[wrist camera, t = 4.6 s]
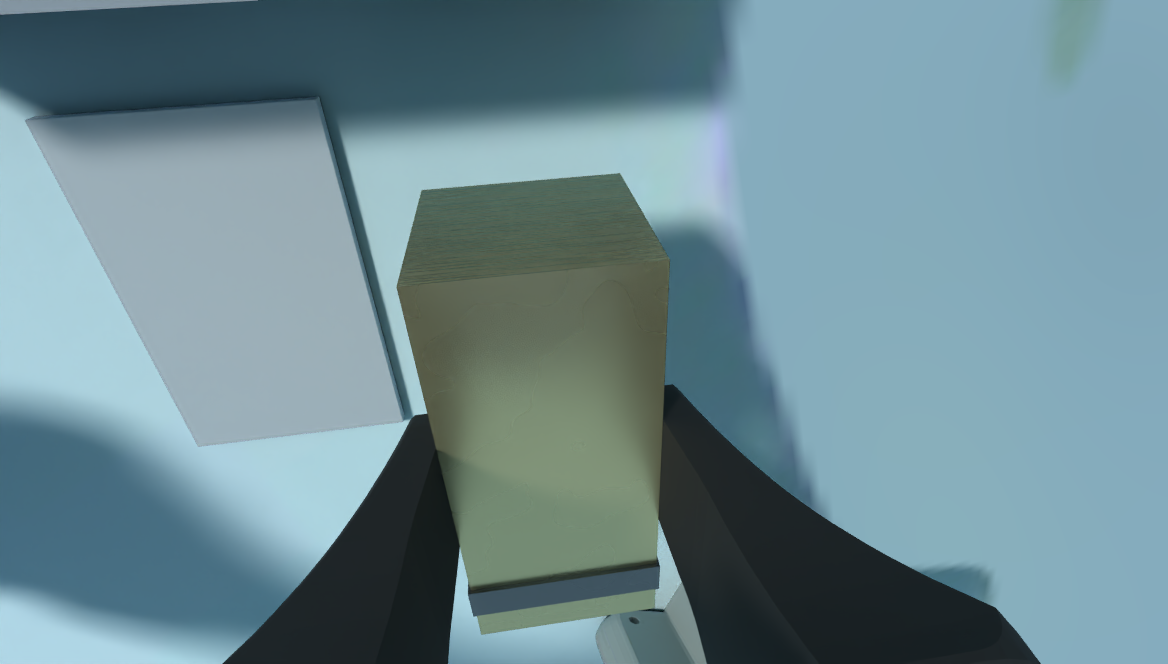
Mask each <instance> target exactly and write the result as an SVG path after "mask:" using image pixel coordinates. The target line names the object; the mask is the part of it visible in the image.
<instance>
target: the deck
mask: <svg viewBox="0 0 1168 664" xmlns="http://www.w3.org/2000/svg"><path fill="white" fill-rule="evenodd" d="M25 122H26V124H27V126H28V127H29V129H30V131H31V133H32V135H33V137H34V139H35V141H36V143H37V144H38V146H39V148H40V150H41V152H42V154H43V156H44V158H45V159H46V161H47V163H48V165H49V167H50V169H51V171H52V173H53V175H54V176H55V178H56V180H57V182H58V184H59V186H60V188H61V190H62V191H63V193H64V195H65V197H66V199H67V201H68V203H69V205H70V207H71V208H72V210H73V212H74V214H75V216H76V218H77V220H78V222H79V223H80V225H81V227H82V229H83V231H84V233H85V235H86V237H87V239H88V240H89V242H90V244H91V246H92V248H93V250H94V252H95V254H96V255H97V257H98V259H99V261H100V263H101V265H102V267H103V269H104V271H105V272H106V274H107V276H108V278H109V280H110V282H111V284H112V286H113V287H114V289H115V291H116V293H117V295H118V297H119V299H120V301H121V302H122V304H123V306H124V308H125V310H126V312H127V314H128V316H129V318H130V319H131V321H132V323H133V325H134V327H135V329H136V331H137V333H138V334H139V336H140V338H141V340H142V342H143V344H144V346H145V348H146V350H147V351H148V353H149V355H150V357H151V359H152V361H153V363H154V365H155V366H156V368H157V370H158V372H159V374H160V376H161V378H162V380H163V382H164V383H165V385H166V387H167V389H168V391H169V393H170V395H171V397H172V398H173V400H174V402H175V404H176V406H177V408H178V410H179V412H180V414H181V415H182V417H183V419H184V421H185V423H186V425H187V427H188V429H189V430H190V432H191V434H192V436H193V438H194V440H195V442H196V444H197V446H198V447H200V446H208V445H216V444H225V443H233V442H241V441H249V440H258V439H266V438H274V437H282V436H291V435H299V434H307V433H315V432H324V431H332V430H340V429H348V428H357V427H365V426H373V425H381V424H390V423H398V422H403V419H404V412H403V408H402V405H401V401H400V397H399V393H398V390H397V386H396V382H395V378H394V375H393V371H392V367H391V363H390V360H389V356H388V352H387V349H386V345H385V341H384V337H383V334H382V330H381V326H380V322H379V319H378V315H377V311H376V307H375V304H374V300H373V296H372V292H371V289H370V285H369V281H368V278H367V274H366V270H365V266H364V263H363V259H362V255H361V251H360V248H359V244H358V240H357V236H356V233H355V229H354V225H353V222H352V218H351V214H350V210H349V207H348V203H347V199H346V195H345V192H344V188H343V184H342V180H341V177H340V173H339V169H338V165H337V162H336V158H335V154H334V151H333V147H332V143H331V139H330V136H329V132H328V128H327V124H326V121H325V117H324V113H323V109H322V106H321V102H320V98H319V97H306V98H292V99H277V100H263V101H249V102H235V103H221V104H207V105H192V106H178V107H164V108H150V109H136V110H122V111H107V112H93V113H79V114H65V115H51V116H36V117H32V118H30V119H27V120H25Z"/></svg>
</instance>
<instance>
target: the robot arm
mask: <svg viewBox="0 0 1168 664" xmlns="http://www.w3.org/2000/svg"><path fill="white" fill-rule="evenodd" d="M658 518H659V521H660V524H661V527H662V529H663V532H664V535H665V538H666V540H667V543H668V546H669V548H670V551H671V554H672V556H673V559H674V562H675V565H676V567H677V570H678V573H679V575H680V578H681V581H682V583H683V586H684V589H685V592H686V594H687V597H688V600H689V603H690V606H691V609H692V612H693V615H694V618H695V621H696V625H697V629H698V632H699V636H700V640H701V644H702V648H703V651H704V655H705V659H706V663H707V664H1041V663H1040V662H1039V661H1038V659H1037V658H1036V657H1035V656H1034V654H1033V653H1032V651H1031V650H1030V649H1029V647H1028V646H1027V645H1026V643H1025V642H1024V641H1023V639H1022V638H1021V637H1020V635H1019V634H1018V633H1017V632H1016V630H1015V629H1014V628H1013V627H1012V626H1011V625H1010V624H1009V622H1007V620H1006V619H1005V618H1004V617H1003V616H1002V614H1001V613H1000V612H999V611H998V610H997V609H996V608H995V607H993V606H990V605H988V604H986V603H984V602H982V601H979V600H977V599H975V598H973V597H971V596H968V595H966V594H964V593H962V592H960V591H957V590H955V589H953V588H951V587H949V586H947V585H944V584H942V583H940V582H938V581H936V580H933V579H931V578H929V577H927V576H925V575H923V574H921V573H919V572H917V571H915V570H914V569H912V568H910V567H908V566H906V565H904V564H902V563H900V562H898V561H896V560H894V559H892V558H891V557H889V556H887V555H885V554H883V553H881V552H880V551H878V550H876V549H874V548H873V547H871V546H869V545H867V544H866V543H864V542H862V541H861V540H859V539H857V538H856V537H854V536H853V535H851V534H849V533H848V532H846V531H844V530H843V529H841V528H839V527H838V526H836V525H835V524H833V523H831V522H830V521H828V520H827V519H825V518H824V517H822V516H821V515H819V514H818V513H816V512H815V511H813V510H812V509H810V508H809V507H808V506H806V505H805V504H803V503H802V502H801V501H799V500H798V499H797V498H795V497H794V496H792V495H791V494H790V493H788V492H787V491H786V490H785V489H783V488H782V487H781V486H779V485H778V484H777V483H776V482H774V481H773V480H772V479H771V478H770V477H768V476H767V475H766V474H765V473H764V472H762V471H761V470H760V469H759V468H758V467H756V466H755V465H754V464H753V463H752V462H751V461H750V460H748V459H747V458H746V457H745V456H744V455H743V454H742V453H741V452H740V451H739V450H737V449H736V448H735V447H734V446H733V445H732V444H731V443H730V442H729V441H728V440H727V439H726V438H725V437H724V436H723V435H722V434H720V433H719V432H718V431H717V430H716V429H715V428H714V427H713V426H712V425H711V424H710V423H709V421H708V420H707V419H706V418H705V417H704V416H703V415H702V414H701V413H700V412H699V411H698V410H697V409H696V408H695V407H694V406H693V405H692V404H691V403H690V402H689V401H688V399H687V398H686V397H685V396H684V395H683V394H682V393H681V392H680V391H679V390H678V388H676V387H675V386H674V385H673V384H672V385H664V404H663V427H662V449H661V472H660V495H659V517H658ZM459 549H460V545H459V541H458V537H457V532H456V528H455V524H454V520H453V516H452V512H451V508H450V504H449V500H448V496H447V491H446V487H445V483H444V479H443V475H442V471H441V467H440V463H439V459H438V455H437V450H436V446H435V442H434V438H433V434H432V430H431V426H430V422H429V418H428V414H422V415H415V416H414V417H413V418H412V419H411V420H410V422H409V424H408V426H407V428H406V430H405V432H404V434H403V435H402V437H401V439H400V441H399V443H398V445H397V447H396V448H395V450H394V452H393V454H392V455H391V457H390V459H389V461H388V462H387V464H386V466H385V467H384V469H383V471H382V472H381V474H380V475H379V477H378V479H377V480H376V482H375V483H374V485H373V487H372V488H371V490H370V491H369V493H368V495H367V496H366V498H365V499H364V501H363V502H362V504H361V505H360V507H359V508H358V509H357V511H356V512H355V514H354V515H353V517H352V518H351V519H350V521H349V522H348V524H347V525H346V526H345V528H344V529H343V531H342V532H341V534H340V535H339V536H338V538H337V539H336V540H335V542H334V543H333V544H332V545H331V547H330V548H329V549H328V551H327V552H326V553H325V555H324V556H323V557H322V558H321V560H320V561H319V562H318V563H317V564H316V566H315V567H314V568H313V569H312V570H311V572H310V573H309V574H308V575H307V576H306V578H305V579H304V580H303V581H302V582H301V584H300V585H299V586H298V587H297V588H296V589H295V590H294V591H293V592H292V593H291V595H290V596H289V597H288V598H287V599H286V600H285V601H284V602H283V603H282V605H281V606H280V607H279V608H278V609H277V610H276V611H275V612H274V613H273V614H272V615H271V617H270V618H269V619H268V620H267V621H266V622H265V623H264V624H263V625H262V626H261V627H260V628H259V629H258V630H257V631H256V632H255V633H254V634H253V635H252V636H251V637H250V638H249V639H248V640H247V641H246V642H245V643H244V644H243V645H242V646H241V647H239V648H238V649H237V650H236V651H235V652H234V653H233V654H232V655H231V656H230V657H229V658H228V659H227V660H226V661H225V662H224V663H223V664H448V654H449V640H450V630H451V621H452V612H453V603H454V594H455V585H456V577H457V568H458V558H459Z"/></svg>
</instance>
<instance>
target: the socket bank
mask: <svg viewBox="0 0 1168 664" xmlns="http://www.w3.org/2000/svg"><path fill="white" fill-rule="evenodd" d="M238 1H256V0H0V15H4V14H22V13H40V12H58V11H76V10H94V9H112V8H130V7H148V6H166V5H184V4H202V3H220V2H238Z"/></svg>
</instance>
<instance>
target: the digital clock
mask: <svg viewBox="0 0 1168 664" xmlns="http://www.w3.org/2000/svg"><path fill="white" fill-rule="evenodd" d="M596 642H597V646H598V649H599V652H600V655H601V658H602V660H603V663H604V664H707V663H706V659H705V655H704V651H703V648H702V644H701V640H700V636H699V632H698V629H697V625H696V621H695V618H694V615H693V612H692V609H691V606H690V603H689V600H688V597H687V594H686V592H685V589H684V586H683V583H681V584H680V586H679V587H678V589H677V591H676V592H675V594H674V595H673V597H672V598H671V600H670V602H669V603H668V605H667V606H666V608H665V609H664V611H663V612H653V611H632V612H626V613H619V614H613V615H610V616H609V617H607V618H605V619H604V620H603V622H602V623H601V624H600V626H599V628H598V630H597V633H596Z"/></svg>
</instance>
